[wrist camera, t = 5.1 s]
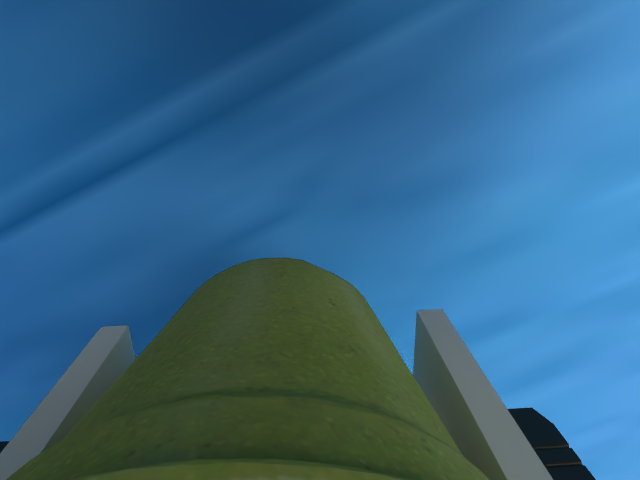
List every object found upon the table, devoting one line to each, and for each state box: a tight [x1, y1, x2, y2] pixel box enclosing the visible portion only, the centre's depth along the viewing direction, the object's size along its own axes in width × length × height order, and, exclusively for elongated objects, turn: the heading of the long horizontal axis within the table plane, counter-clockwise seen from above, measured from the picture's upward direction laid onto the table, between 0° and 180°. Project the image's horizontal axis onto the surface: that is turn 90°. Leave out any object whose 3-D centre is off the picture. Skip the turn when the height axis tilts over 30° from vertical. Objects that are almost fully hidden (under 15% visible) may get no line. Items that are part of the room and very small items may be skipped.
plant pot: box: [6, 258, 490, 480], centre depth 9 cm, size 9×9×9 cm
